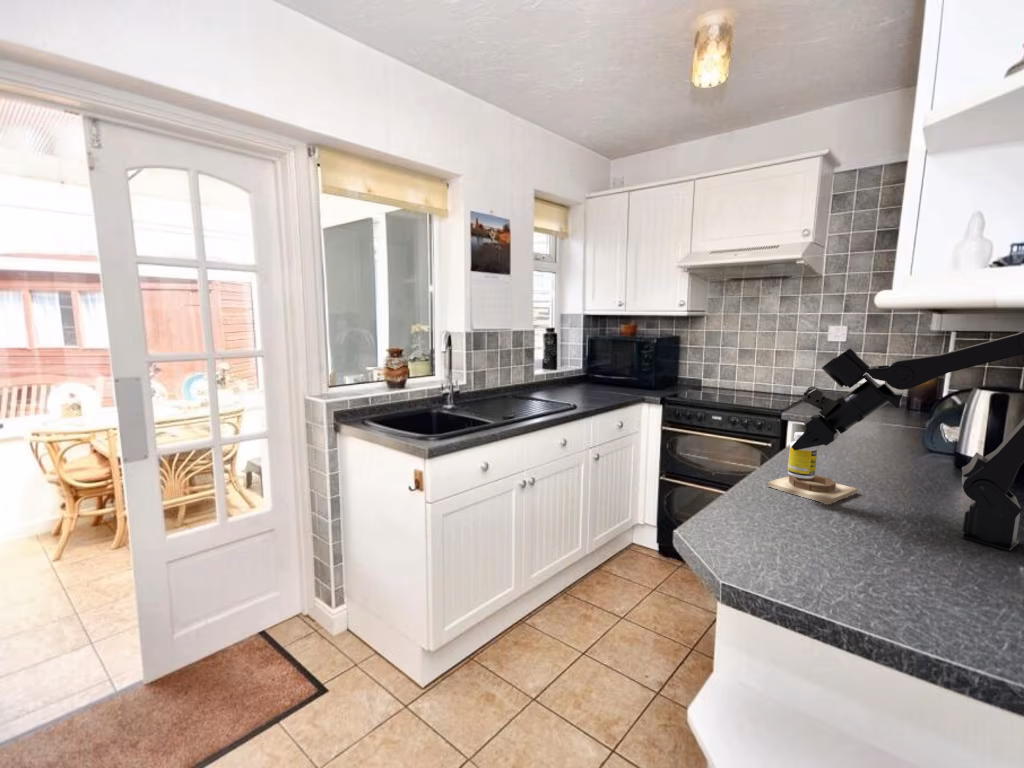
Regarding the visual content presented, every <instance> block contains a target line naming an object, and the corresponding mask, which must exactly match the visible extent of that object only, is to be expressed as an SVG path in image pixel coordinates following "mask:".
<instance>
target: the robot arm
mask: <svg viewBox="0 0 1024 768" xmlns="http://www.w3.org/2000/svg"><path fill="white" fill-rule="evenodd" d="M1021 355H1024V330H1021V331H1019V332H1017V333H1014V334H1011V335H1008V336H1004V337H1003V336H1002V337H1000V338H997V339H993V340H989V341H985V342H981V343H977V344H975V345H969V346H967V347H963V348H959V349H955V350H951V351H949V352H948V351H947V352H945V353H940V354H934V355H924V356H917V357H916V356H915V357H909V358H900V359H897V360H895V361H893V362H892V363H890V364H887V365H877V364H876V365H875V366H874V365H872V366H870V365H869V364H868V363H866V361H865V360H864V359H863V358H861V357H860V356H859V355H858V353H857V352H856V351H855V350H854V349H853V348H848V349H847V350H845V351H843V352H842V353H841V354H839V355H838V356H836V357H834V358H832V359H831V360H829V362H827V363H826V364H825V365H823V366H822V367H821V370H822V371H823V372H825V373H826V375H828V376H829V377H830V378H831V380H833V381H834V382H835V383H836V384H837V385H838V386H839V387H840V388H843V387H845V388H849V389H851V388H852V387H854V386H855V385H857V384H858V383H859V382H861V381H863V379H864V380H866V381H864V382H863V383H861V384H860V385H858V386H857V387H855V388H854V389H853V390H851V391H850V392H849V393H847V394H845V396H844V395H841V397H840V396H839V397H835V396H834V395H832V394H830V393H828V392H826V391H824V390H822V389H821V388H818V387H816V386H812V385H811V386H809V387H808V388H806V391H805V392H803V396H802V397H801V399H800V400H801V401H802V402H803V403H806V404H809V405H811V406H813V407H815V408H816V409H819V410H820V411H818V412H819V413H818V414H814V415H812V416H810V417H809V418H808V419H806V420H805V421H803V424H804V426H805V431H803V432H804V433H803V434H802V436H801V437H800V438H799V439H798V440H797V441H796V442H795V443H794V444H793V445H792V448H793V449H794V450H800V449H804V448H809V447H814V446H817V447H820V446H828V445H829V444H831V443H833V442H834V441H835V440H837V439H838V436H839V435H840V434H843V433H845V432H847V431H848V430H850V429H851V428H852V427H853V426H854V425H856V424H858V423H860V422H861V421H863V420H864V419H866V418H867V417H868V416H870V415H872V414H873V413H874V412H876V411H877V410H880V409H881V408H882V407H884V406H885V405H887V404H888V403H890V404H891V405H892V406H893V407H895V408H896V409H899V408H901V406H902V399H903V397H904V393H897V392H894V391H893V389H891V388H894V389H896V390H900V391H901V390H902V391H904V390H909V389H912V388H915V387H917V386H920V385H922V384H925V383H927V382H930V381H932V380H934V379H936V378H938V377H941V376H943V375H947V374H948V373H949V374H950V373H952V372H956V371H961V370H965V369H969V368H973V367H976V366H982V365H984V364H989V363H993V362H997V361H1000V360H1005V359H1009V358H1013V357H1017V356H1021ZM877 381H881V382H882V381H883V382H886V383H882V384H879V382H877ZM889 386H890V387H891V388H890V387H889ZM1023 464H1024V418H1023V419H1022V420H1021V422H1019V424H1018V425H1017V426H1016V427H1015V428H1014V429H1013V430H1012V431H1011V432H1010V433H1009V434H1008V436H1007V437H1005V439H1004V440H1003V441H1002V443H1000V444H999V446H998V447H997V448H996V449H995V450H993V451H992V452H990V453H988V454H987V455H985V456H983V455H982V454H981V453H979V452H975V453H974V455H973V456H972V458H971V460H970V462H969V463H967V464H966V465H964V466H962V467H961V471H962V475H961V483H962V488H963V492H964V494H965V495H966V496H967V497H968V498H969V499H971V500H972V501H974V502H973V503H971V504H970V505H969V509H968V510H966V511H965V512H964V517H963V524H962V525H963V526H962V532H963V534H962V538H963V539H965V540H969V541H973V542H976V543H979V544H982V545H987V546H990V547H994V548H998V549H1001V550H1005V551H1011V550H1013V548H1015V547H1016V546H1017V545H1018V544H1019V543H1020V540H1019V539H1017V538H1018V537H1017V536H1018V532H1019V525H1020V517H1021V511H1022V508H1021V507H1020V504H1019V501H1018V500H1017V497H1016V496H1015V494H1013V493H1012V492H1011V491H1010V489H1011V488H1012V485H1013V484H1014V481H1015V479H1016V477H1017V475H1018V473H1019V470H1020V468H1021V466H1022V465H1023Z"/></svg>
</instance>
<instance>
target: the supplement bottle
mask: <svg viewBox="0 0 1024 768" xmlns="http://www.w3.org/2000/svg"><path fill="white" fill-rule="evenodd" d="M804 432H805V431H795V432H794V434H793V439H794V440H793V441H791V442H790V444H789V454H788V460H787V474H788V476H789V475H791V476H794V477H798V478H805V479H810V478H813V477H814V476H815V475H816V466H817V457H818V456H817V455H818V446H814V447H809V448H804V449H800V450H794V449H793V448H792V445H793V444H794V443H795V442H796V441H797V440H798V439H799V438H800V437H801V436H802V434H803V433H804Z"/></svg>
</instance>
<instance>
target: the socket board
mask: <svg viewBox="0 0 1024 768" xmlns="http://www.w3.org/2000/svg"><path fill="white" fill-rule="evenodd" d="M767 486H769V487H772V488H775V489H778V490H782V491H785V492H788V493H791V494H795V495H798V496H801V497H800V498H802V497H805V498H809V499H812V500H816V501H819V502H822V503H825V504H830V503H833V502H835V501H838V500H840V499H843V498H845V497H847V496H850V495H852V496H854V495H853V494H855V493H857V494H858V488H855V487H852V486H847V485H844V484H839V483H837V482H835V481H833V480H832V479H831V478H829V477H825V476H822V475H817V474H815V476H814V477H813V478H810V479H805V478H798V477H794V476H791V475H789V474H788V475H787V476H783V477H780V478H777V479H774V480H771V481H767V482H766V487H767ZM775 489H774V490H775ZM778 490H777V491H778ZM785 492H784V493H785ZM788 493H787V494H788ZM791 494H790V495H791ZM795 495H794V496H795ZM855 495H856V494H855ZM798 496H797V497H798ZM850 497H851V496H850ZM805 498H804V499H805ZM847 498H848V497H847ZM845 499H846V498H845ZM812 500H811V501H812ZM843 500H844V499H843ZM840 501H841V500H840ZM838 502H839V501H838ZM822 503H821V504H822ZM835 503H836V502H835ZM825 504H824V505H825ZM833 504H834V503H833ZM830 505H831V504H830Z"/></svg>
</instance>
